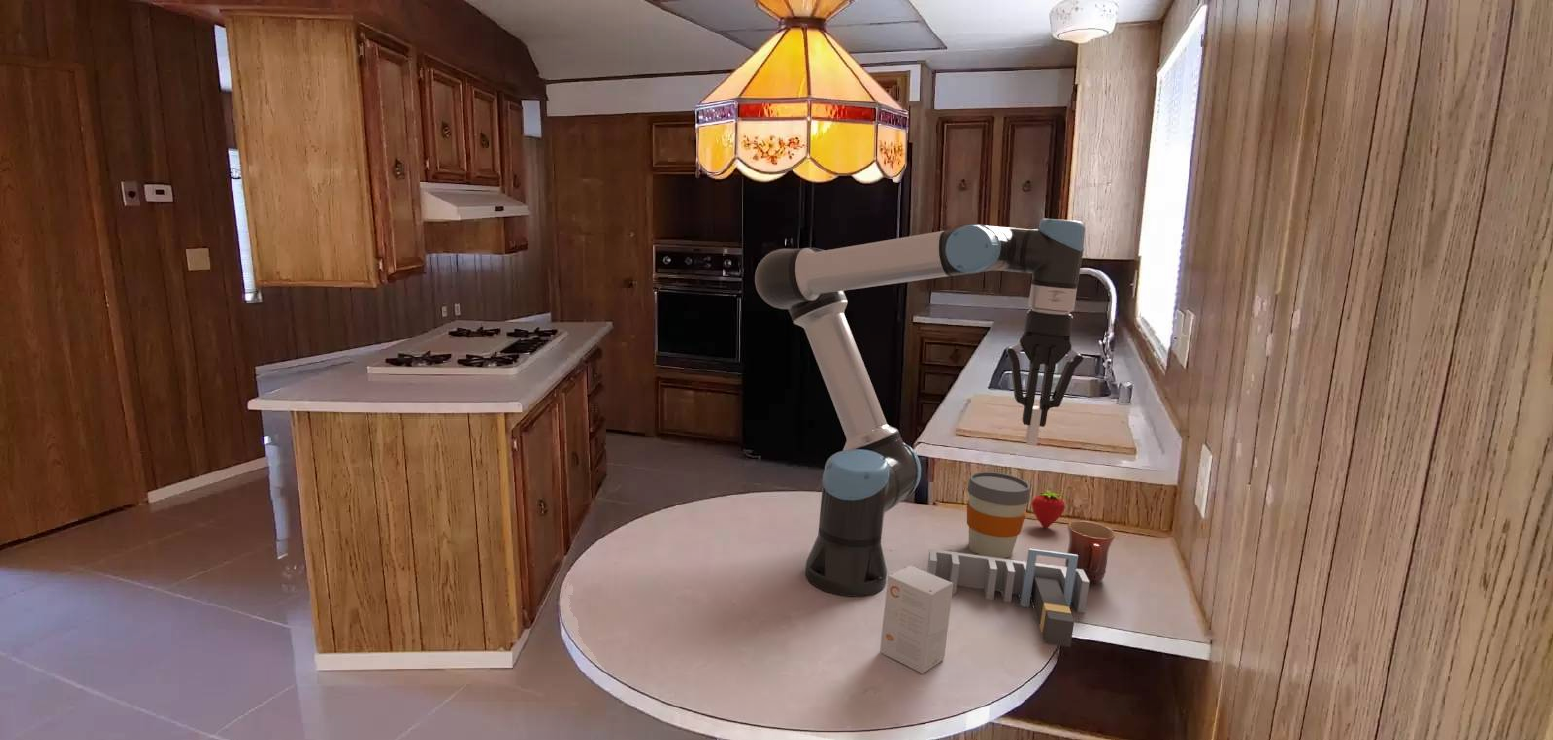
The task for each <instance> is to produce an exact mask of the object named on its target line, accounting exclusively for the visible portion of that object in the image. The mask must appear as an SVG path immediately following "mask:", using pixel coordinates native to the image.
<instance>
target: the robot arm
mask: <svg viewBox="0 0 1553 740" xmlns="http://www.w3.org/2000/svg"><path fill="white" fill-rule="evenodd" d="M1085 234H1086V226H1085V223H1083V222H1082V221H1079V220H1068V219H1056V218H1055V219H1054V218H1042V219H1041V220H1040V221H1039V224H1038V226H1037V228H1034V229H1033V228H1032V229H1031V228H1029V229H1028V228H1027V229H1026V228H1018V227H1017V228H1016V227H1010V226H1008V227H1007V226H997V225H992V224H991V225H989V224H979V223H972V224H965V225H963V226H961V227H957V228H953V229H947V230H941V231H939V230H938V231H934V232H928V233H922V234H918V235H917V234H916V235H909V236H905V237H898V238H893V239H887V240H880V241H875V242H868V243H863V244H856V245H851V246H844V247H839V248H833V249H827V250H825V249H821V248H817V247H804V248H779V249H776V250H772V251H770V252H769V253H767V254H766V255H765V256H764V257H762V259H760V262H759V263H758V265H757V268H756V269H755V275H754V283H755V288H756V291H757V293H758V295H759V296H760V298H761V299H762V300H763V301H764V302H765V303H767V304H768V305H770V307H773V308H776V309H780V310H788V312H789V314H790V316H791V319H792V321H793V324H794V325H796V326H799V327H801V328H803V330H804V332H805V334H806V337H807V340H808V341H809V342H808V343H809V344H810V347H811V350H812V353H813V355H814V358H815V361H816V363H817V366H818V367H819V371H820V372H821V376H822V378H823V381H824V384H825V386H826V388H827V389H826V390H827V392H828V394H829V397H830V400H831V401H832V404H833V407H834V409H835V412H836V415H837V418H838V420H839V422H840V425H841V428H842V431H843V432H844V436H845V437H846V438H845V439H846V441H845V444H844V447H843V449H842V450H841V451H837V452H836V453H834V454H832V455H831V456H829V458H828V459H827V460H826V463H825V465H824V471H823V474H822V489H821V490H822V491H821V501H820V511H819V521H818V534H817V537H816V539H815V540H814V544H813V545H812V548H811V550H810V552H809V554H808V556H807V559H806V562H805V572H804V573H805V577H806V579H807V581H808V582H809V583H811V584H812V585H813V586H815V587H816V588H818V589H820V590H822V591H824V592H827V593H830V594H834V595H839V596H846V597H864V596H870V595H873V594H877V593H878V592H881V591H882V590H884V589H885V587H886V586H887V585H886V583H887V579H888V576H887V575H888V568H887V565H886V561H885V555H884V550H883V547H882V535H883V527H884V520H885V519H884V517H885V514H886V513H887V512H889V510H891V509H893V508H894V507H895V506H897V505H898V504H901V503H903V502H904V501H906V500H907V499H909V497H910V496H911V495H912V494H913V492H915V490H916V489H917V487H918V486H919V483H920V481H921V477H922V465H921V460H920V458H919V456H918V454H917V453H916V452H915V450H914V449H913V448H912V447H911V446H910V445H908V444H906V443H905V442H904V441H903V439H902V437H901V435H900V432H899V430H898V429H897V428H896V427H893V426H891V425H889V424H888V422H887V419H886V417H885V415H884V412H883V410H882V407H881V404H880V402H879V399H878V397H877V394H876V392H875V389H874V386H873V383H872V382H871V379H870V375H869V374H868V371H867V368H866V367H865V364H864V361H863V359H862V355H861V353H860V351H859V348H858V346H857V343H856V341H855V338H854V335H853V333H852V330H851V328H850V325H849V323H848V320H847V318H846V315H845V310H846V309H847V305H848V302H849V301H848V299H847V296H846V294H845V291H850V290H858V289H865V288H866V289H867V288H871V287H879V286H886V285H893V284H894V285H895V284H901V283H908V282H909V283H910V282H914V281H922V280H930V279H937V278H944V277H951V276H952V277H953V276H954V277H955V276H961V275H969V274H971V275H972V274H977V273H982V272H993V271H1001V272H1003V271H1004V272H1012V273H1023V274H1032V275H1031V284H1030V285H1031V286H1030V289H1029V297H1028V304H1027V306H1028V307H1029V308H1030V309H1029V310H1028V311H1027V312H1026V315H1025V317H1026V318H1025V324H1024V332H1023V334H1022V336H1021V337H1020V340H1019V342H1018V343H1016V344H1014V345H1012V346H1010V345H1009V346H1007V347H1006V348H1005V352H1006V354H1007V356H1008V357H1009V359H1010V367H1011V376H1012V386H1013V395H1014V396H1013V397H1014V399H1015V401H1016V402H1017V403H1018V404H1020V405H1022V406H1023V411H1022V412H1023V413H1022V419H1021V420H1022V423H1023V425H1024V426H1027V427H1026V428H1027V429H1026V434H1025V439H1024V440H1025V443H1026V444H1027V446H1037V444H1038V437H1039V431H1040V427H1041V428H1042V427H1043V428H1045V426H1046V424H1047V418H1048V412H1049V410H1050V409H1052V408H1058V407H1060V406H1061V403H1062V402H1063V398H1064V397H1065V394H1066V392H1067V389H1068V387H1069V385H1070V383H1071V380H1072V377H1073V376H1074V373H1075V371H1076V368H1078V367H1079V365H1080V364H1081V363H1082V362H1083V360H1084V357H1083V356H1082V354H1080V353H1078V352H1077V351H1075V350H1074V349H1073V348H1072V347H1073V346H1072V342H1071V332H1072V326H1073V319H1074V317H1073V315H1072V314H1071V312H1073V311H1075V304H1076V297H1077V291H1078V286H1079V279H1080V274H1081V273H1080V272H1081V267H1082V262H1083V255H1084V252H1085V247H1084V245H1085V237H1086V235H1085ZM1022 350H1023V352H1024V354H1025V356H1026V357H1027V359H1028V361H1029V365H1028V366H1029V370H1028V374H1027V383H1026V389H1025V395H1024V391H1023V382H1022V371H1021V365H1020V364H1021V363H1020V359H1019V358H1020V357H1021V356H1022V353H1021V352H1022ZM1065 357H1066V361H1067V362H1066V363H1065V365H1064V367H1063V370H1062V372H1061V374H1060V377H1059V380H1058V382H1057V383H1056V386H1055V388H1054V390H1053V389H1052V388H1053V381H1054V376H1055V375H1054V374H1055V371H1056V366H1057V365H1058V363H1060V362H1061V360H1063V359H1064V358H1065ZM1041 365H1044V370H1043V378H1042V382H1041V383H1042V384H1041V389H1040V390H1041V391H1040V397H1039V405H1035V400H1036V399H1035V397H1036V394H1037V393H1036V391H1037V386H1038V385H1037V384H1038V379H1039V372H1040V369H1041ZM1052 390H1053V393H1052ZM1051 395H1052V396H1051Z"/></svg>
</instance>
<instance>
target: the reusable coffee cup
mask: <svg viewBox="0 0 1553 740" xmlns="http://www.w3.org/2000/svg"><path fill="white" fill-rule="evenodd" d="M968 480H969V481H968V485H967V492H968V500H967V501H966V524H967V526H968V548H969V550H970V551H972V552H973V553H975V554H976V555H979V556H987V557H994V558H1002V559H1008V558H1009V556H1010V557H1011V556H1012V555H1013V552H1014V549H1015V546H1016V542H1017V539H1018V536H1019V535H1020V534H1021V532H1022V528H1023V526H1024V523H1025V519H1026V515H1027V510H1026V509H1027V505H1028V503H1029V502H1030V499H1031V494H1030V493H1031V485H1030V483H1029V482H1027V481H1026V480H1024V479H1022V478H1020V477H1018V476H1014V475H1010V474H1009V473H1008V474H1006V473H1003V472H994V471H993V472H992V471H977V472H975V473H972V474H971V475H970V477H969V479H968ZM1007 557H1008V558H1007Z"/></svg>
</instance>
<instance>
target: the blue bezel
mask: <svg viewBox="0 0 1553 740" xmlns="http://www.w3.org/2000/svg"><path fill="white" fill-rule="evenodd" d="M1038 556H1042V557H1051V558H1058V559H1065V560H1066V559H1068V565H1067V571H1066V578H1065V584H1064V590H1063V596H1064V598H1065V600H1066V603H1067V605H1068V606H1069V609H1070V610H1071V608H1070V607H1071V602H1072V601H1071V597H1072V591H1073V585H1074V579H1075V573H1076V567H1077V561H1078V555H1076V554H1068V553H1067V552H1060V551H1054V550H1053V551H1052V550H1051V551H1050V550H1044V549H1036V548H1030V547H1029V548H1028V551H1027V558H1026V562H1027V563H1026V570H1025V576H1024V583H1023V590H1022V596H1021V600H1020V603H1019V604H1020V606H1021V605H1025V606H1024V607H1028V606H1030V600H1031V589H1032V583H1033V576H1034V570H1035V563H1037V562H1036V561H1037V557H1038Z"/></svg>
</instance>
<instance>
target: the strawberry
mask: <svg viewBox="0 0 1553 740" xmlns="http://www.w3.org/2000/svg"><path fill="white" fill-rule="evenodd" d="M1050 487H1051V490H1052V492H1051V491H1050V490H1048V489H1047V490H1046V491H1045V492H1038V494H1039V495H1036V496H1035V497H1033V499H1032V502H1031V508H1032V512H1033V514H1034V516H1035V517H1036V519H1037V521H1038V522H1039V523H1040V524H1041V526H1042V528H1043V529H1044V528H1045V529H1048V528H1049V527H1051V526H1052V524H1054V523H1055V522H1057V521H1058V519H1059V518H1060V517H1061V516H1062V514H1063V513H1064V511H1065V508H1066V506H1065V501H1064V500H1063V499H1062V498H1061V497H1063V495H1062V494H1058V493H1054V489H1053V487H1052V485H1050Z"/></svg>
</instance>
